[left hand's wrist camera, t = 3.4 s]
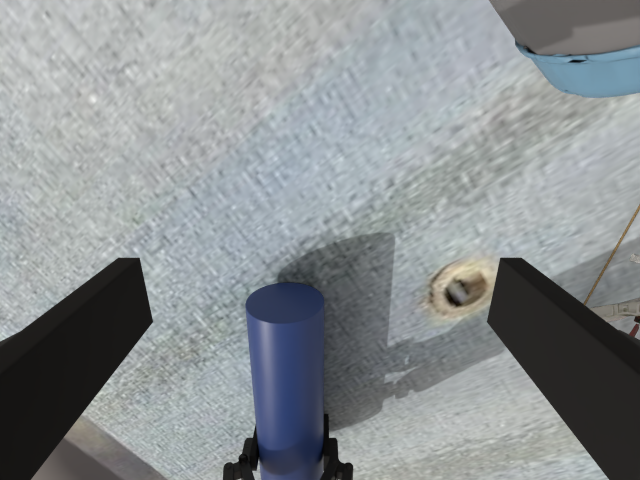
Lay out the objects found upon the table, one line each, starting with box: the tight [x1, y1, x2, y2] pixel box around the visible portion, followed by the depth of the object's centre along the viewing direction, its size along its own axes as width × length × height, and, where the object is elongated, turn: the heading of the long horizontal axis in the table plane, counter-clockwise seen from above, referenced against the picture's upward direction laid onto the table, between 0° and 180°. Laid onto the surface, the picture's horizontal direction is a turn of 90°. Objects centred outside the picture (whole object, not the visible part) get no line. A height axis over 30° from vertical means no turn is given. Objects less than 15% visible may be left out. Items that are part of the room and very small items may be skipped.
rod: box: [246, 283, 324, 480], centre depth 44 cm, size 27×9×9 cm, turn 0°
